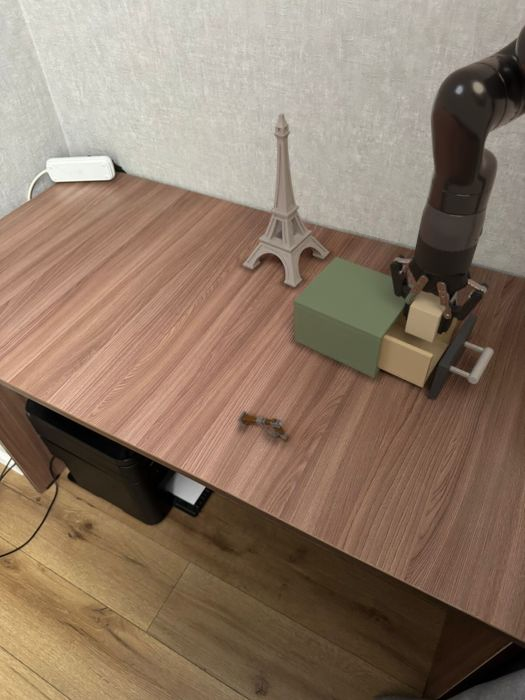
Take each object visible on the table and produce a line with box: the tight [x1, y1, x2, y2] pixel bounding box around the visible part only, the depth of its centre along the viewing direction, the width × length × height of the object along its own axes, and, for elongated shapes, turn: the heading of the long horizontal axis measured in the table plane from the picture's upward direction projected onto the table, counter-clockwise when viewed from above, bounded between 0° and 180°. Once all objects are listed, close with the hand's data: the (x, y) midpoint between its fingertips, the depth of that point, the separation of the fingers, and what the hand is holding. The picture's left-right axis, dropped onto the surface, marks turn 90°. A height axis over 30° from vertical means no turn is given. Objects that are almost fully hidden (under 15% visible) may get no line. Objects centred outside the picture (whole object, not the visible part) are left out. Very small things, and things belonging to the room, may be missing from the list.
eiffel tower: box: [242, 112, 331, 288], centre depth 92 cm, size 13×13×30 cm
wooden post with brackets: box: [237, 410, 289, 442], centre depth 74 cm, size 2×8×4 cm, turn 60°
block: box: [405, 291, 443, 343], centre depth 74 cm, size 4×4×6 cm
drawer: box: [378, 312, 495, 401], centre depth 78 cm, size 19×13×8 cm, turn 54°
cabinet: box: [293, 256, 415, 379], centre depth 83 cm, size 16×14×10 cm
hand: (425, 324), depth 75 cm, fingers closed on block, 4 cm apart
